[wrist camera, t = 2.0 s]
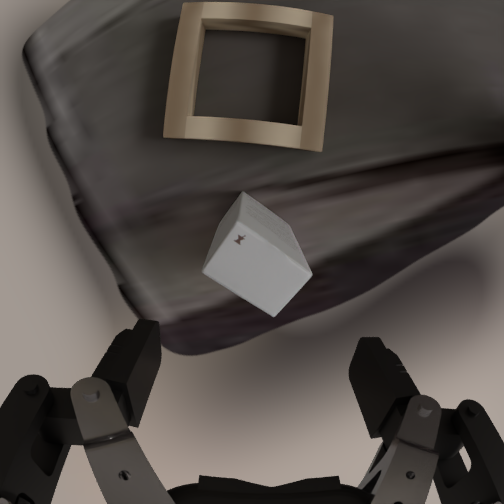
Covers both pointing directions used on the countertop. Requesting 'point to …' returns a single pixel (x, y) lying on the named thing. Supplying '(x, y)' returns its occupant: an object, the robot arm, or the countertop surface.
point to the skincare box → (257, 256)
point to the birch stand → (254, 20)
